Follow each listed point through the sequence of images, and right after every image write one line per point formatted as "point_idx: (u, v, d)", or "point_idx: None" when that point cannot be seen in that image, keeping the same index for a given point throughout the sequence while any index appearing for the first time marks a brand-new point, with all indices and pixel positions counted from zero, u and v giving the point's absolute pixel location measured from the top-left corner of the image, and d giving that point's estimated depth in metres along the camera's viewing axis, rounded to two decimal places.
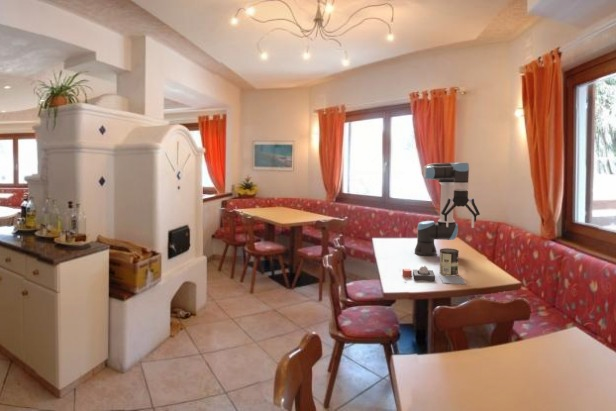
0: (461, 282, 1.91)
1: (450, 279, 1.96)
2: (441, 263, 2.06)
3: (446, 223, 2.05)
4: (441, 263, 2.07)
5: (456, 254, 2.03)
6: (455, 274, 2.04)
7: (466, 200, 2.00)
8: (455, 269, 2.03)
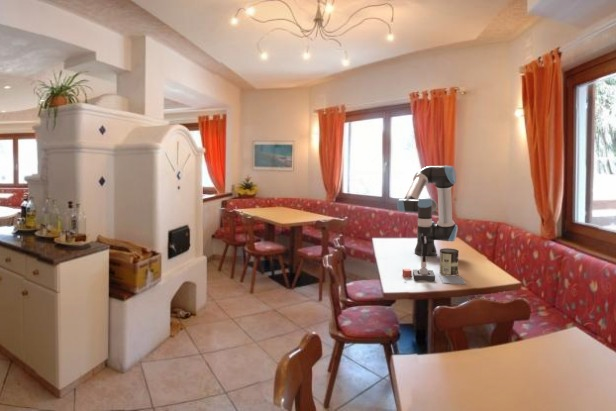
0: (461, 282, 1.91)
1: (450, 279, 1.96)
2: (441, 263, 2.06)
3: None
4: (441, 263, 2.07)
5: (456, 254, 2.03)
6: (455, 274, 2.04)
7: (422, 236, 1.96)
8: (455, 269, 2.03)
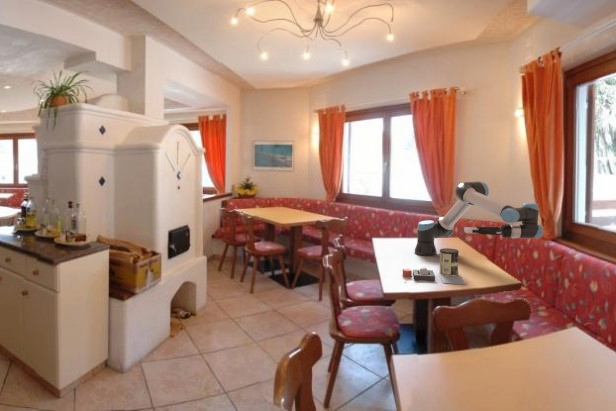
0: (461, 282, 1.91)
1: (450, 279, 1.96)
2: (441, 263, 2.06)
3: (469, 230, 2.01)
4: (441, 263, 2.07)
5: (456, 254, 2.03)
6: (455, 274, 2.04)
7: None
8: (455, 269, 2.03)
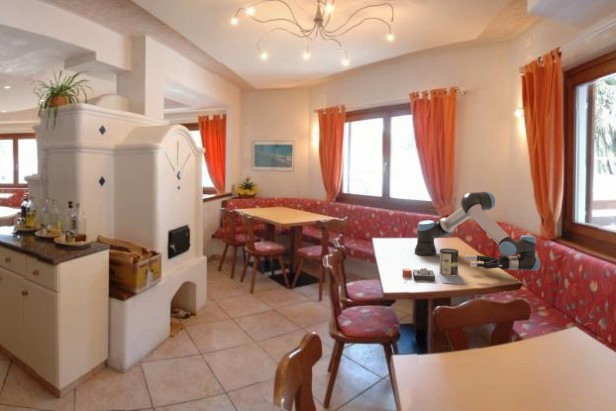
0: (461, 282, 1.91)
1: (450, 279, 1.96)
2: (441, 263, 2.06)
3: (474, 264, 1.98)
4: (441, 263, 2.07)
5: (456, 254, 2.03)
6: (455, 274, 2.04)
7: None
8: (455, 269, 2.03)
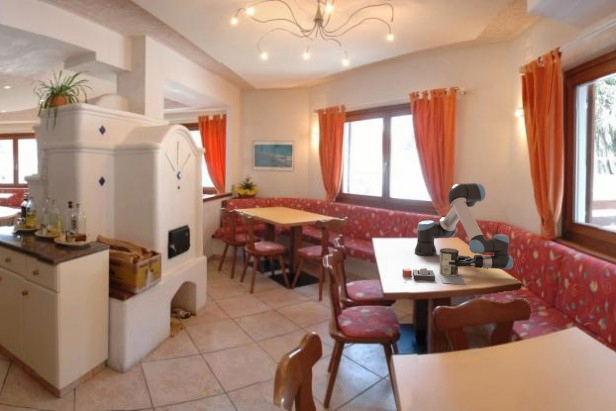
0: (461, 282, 1.91)
1: (450, 279, 1.96)
2: (441, 263, 2.06)
3: (446, 262, 2.02)
4: (440, 263, 2.07)
5: (456, 254, 2.03)
6: (455, 274, 2.04)
7: None
8: (455, 269, 2.03)
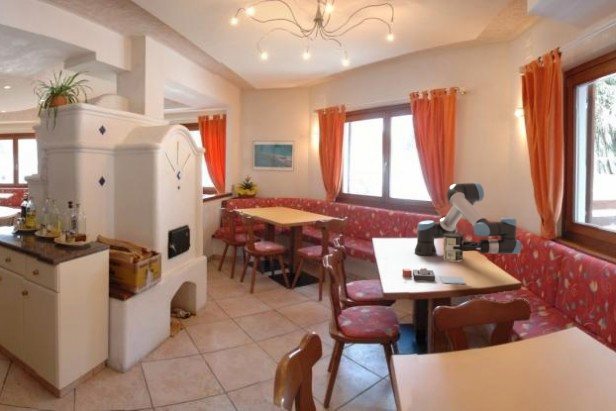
0: (461, 282, 1.91)
1: (450, 279, 1.96)
2: (445, 248, 1.96)
3: (450, 246, 1.92)
4: (444, 248, 1.97)
5: (461, 238, 1.93)
6: (460, 259, 1.94)
7: None
8: (460, 254, 1.93)
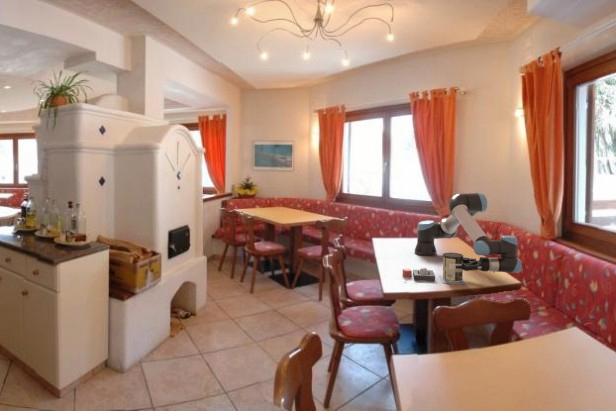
0: (461, 282, 1.91)
1: None
2: (444, 268, 1.94)
3: (452, 265, 1.88)
4: (444, 268, 1.95)
5: (460, 259, 1.91)
6: (459, 280, 1.92)
7: None
8: (459, 275, 1.91)
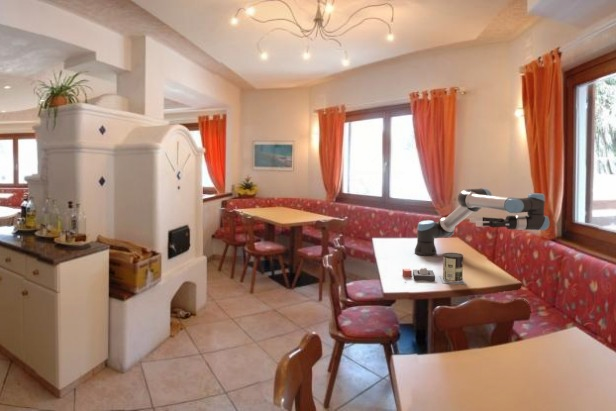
0: (461, 282, 1.91)
1: None
2: (445, 268, 1.94)
3: (479, 223, 1.88)
4: (444, 268, 1.95)
5: (461, 259, 1.91)
6: (459, 280, 1.92)
7: None
8: (459, 275, 1.91)
